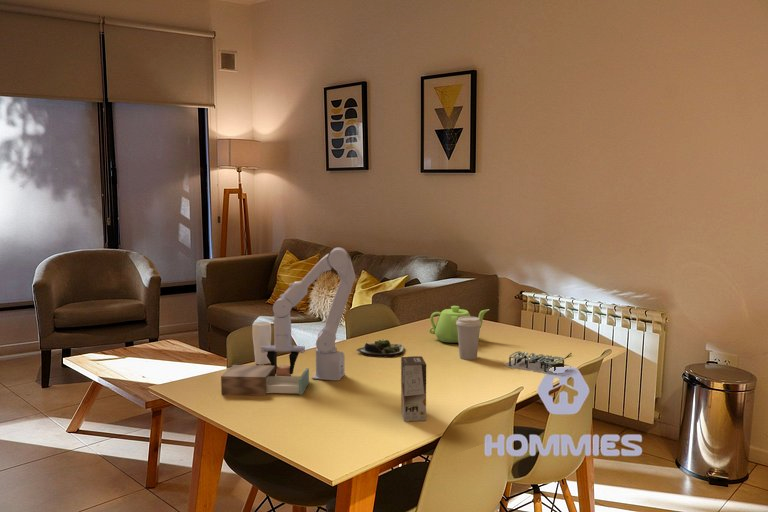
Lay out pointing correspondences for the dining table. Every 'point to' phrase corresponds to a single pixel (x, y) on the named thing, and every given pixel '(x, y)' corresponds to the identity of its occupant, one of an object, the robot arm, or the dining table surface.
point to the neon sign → (535, 362)
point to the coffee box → (413, 388)
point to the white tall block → (261, 341)
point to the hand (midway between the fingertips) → (283, 373)
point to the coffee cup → (468, 337)
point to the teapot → (450, 323)
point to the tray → (287, 383)
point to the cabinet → (246, 379)
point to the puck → (283, 370)
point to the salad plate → (381, 349)
